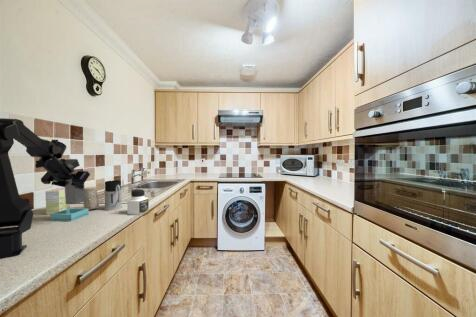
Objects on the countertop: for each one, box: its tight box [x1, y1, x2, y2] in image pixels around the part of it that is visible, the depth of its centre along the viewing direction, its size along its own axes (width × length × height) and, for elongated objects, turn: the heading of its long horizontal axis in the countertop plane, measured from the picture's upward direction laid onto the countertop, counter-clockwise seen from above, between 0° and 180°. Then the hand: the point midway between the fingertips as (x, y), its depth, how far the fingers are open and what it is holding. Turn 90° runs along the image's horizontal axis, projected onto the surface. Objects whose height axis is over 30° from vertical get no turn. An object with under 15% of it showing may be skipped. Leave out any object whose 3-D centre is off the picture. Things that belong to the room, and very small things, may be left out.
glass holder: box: [103, 179, 123, 211], centre depth 109 cm, size 9×14×15 cm, turn 49°
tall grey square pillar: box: [64, 179, 85, 205], centre depth 94 cm, size 5×5×13 cm
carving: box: [82, 186, 99, 211], centre depth 108 cm, size 6×8×12 cm
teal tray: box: [50, 207, 89, 222], centre depth 94 cm, size 10×10×3 cm
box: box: [45, 187, 71, 216], centre depth 104 cm, size 10×6×12 cm, turn 17°
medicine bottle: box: [126, 188, 150, 216], centre depth 102 cm, size 7×7×12 cm
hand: (77, 188), depth 95 cm, fingers closed on tall grey square pillar, 5 cm apart
